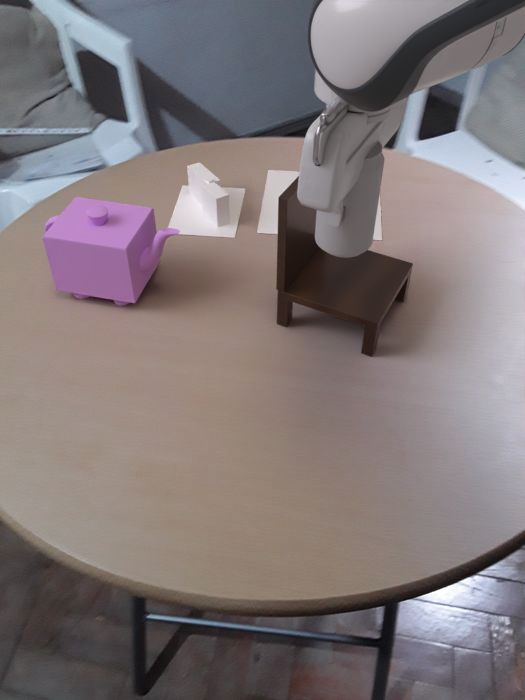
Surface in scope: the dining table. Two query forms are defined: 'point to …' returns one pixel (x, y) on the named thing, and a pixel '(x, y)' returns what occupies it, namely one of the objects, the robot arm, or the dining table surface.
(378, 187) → the beverage can
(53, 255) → the teapot
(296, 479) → the dining table surface
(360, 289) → the wooden doll chair
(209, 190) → the napkin holder
